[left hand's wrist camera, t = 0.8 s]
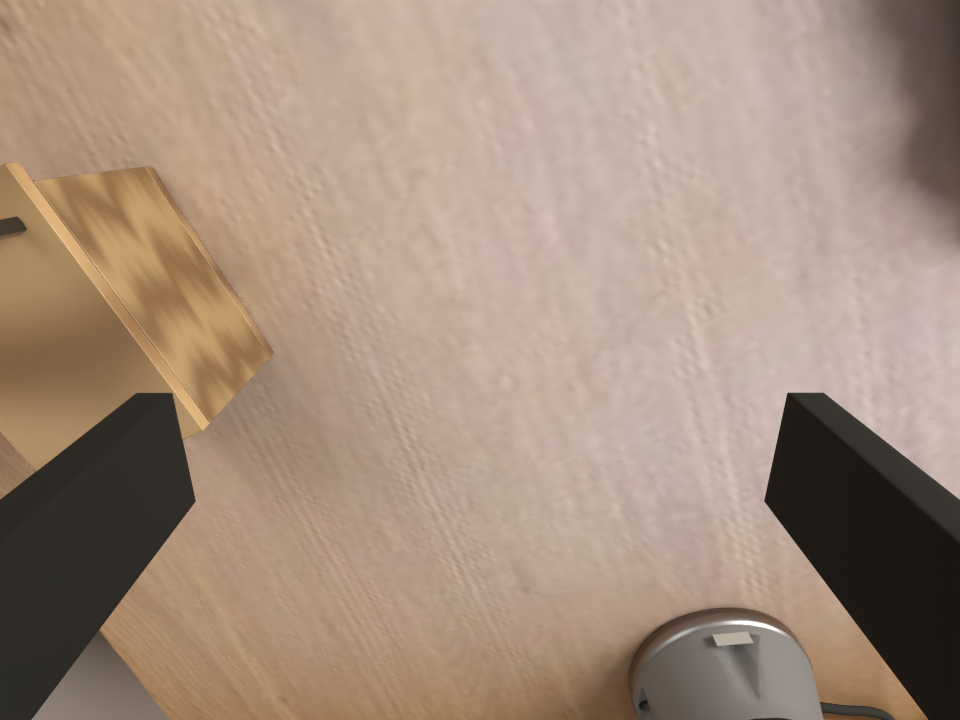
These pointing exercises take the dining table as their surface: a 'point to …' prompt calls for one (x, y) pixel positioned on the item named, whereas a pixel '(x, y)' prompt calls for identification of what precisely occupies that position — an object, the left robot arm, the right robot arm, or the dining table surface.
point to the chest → (162, 279)
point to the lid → (65, 334)
